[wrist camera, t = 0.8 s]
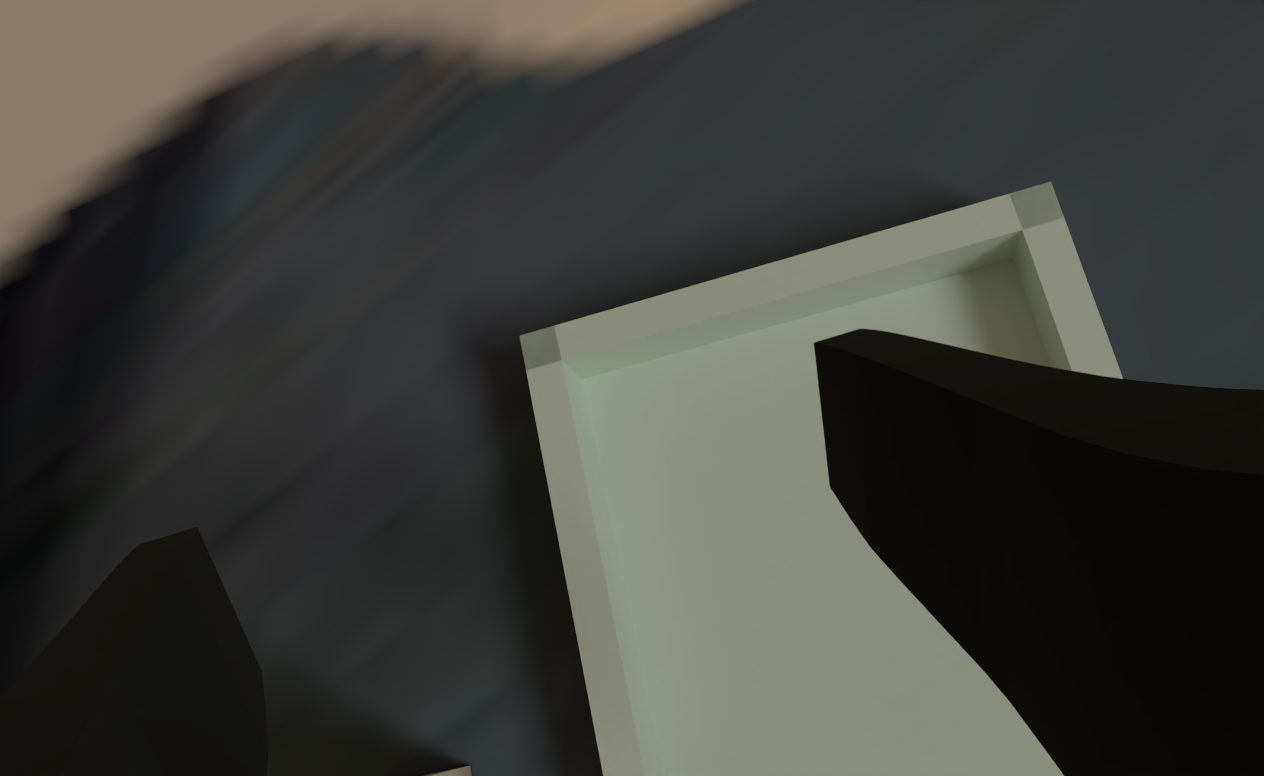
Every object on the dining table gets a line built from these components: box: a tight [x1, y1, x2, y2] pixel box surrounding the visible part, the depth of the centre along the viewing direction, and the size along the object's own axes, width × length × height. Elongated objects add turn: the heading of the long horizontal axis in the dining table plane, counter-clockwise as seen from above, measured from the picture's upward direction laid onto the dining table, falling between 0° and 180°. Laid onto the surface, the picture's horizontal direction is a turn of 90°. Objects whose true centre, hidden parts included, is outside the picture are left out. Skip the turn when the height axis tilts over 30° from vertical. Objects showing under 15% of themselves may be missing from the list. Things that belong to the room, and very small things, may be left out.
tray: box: [520, 182, 1123, 776], centre depth 25 cm, size 19×14×2 cm
